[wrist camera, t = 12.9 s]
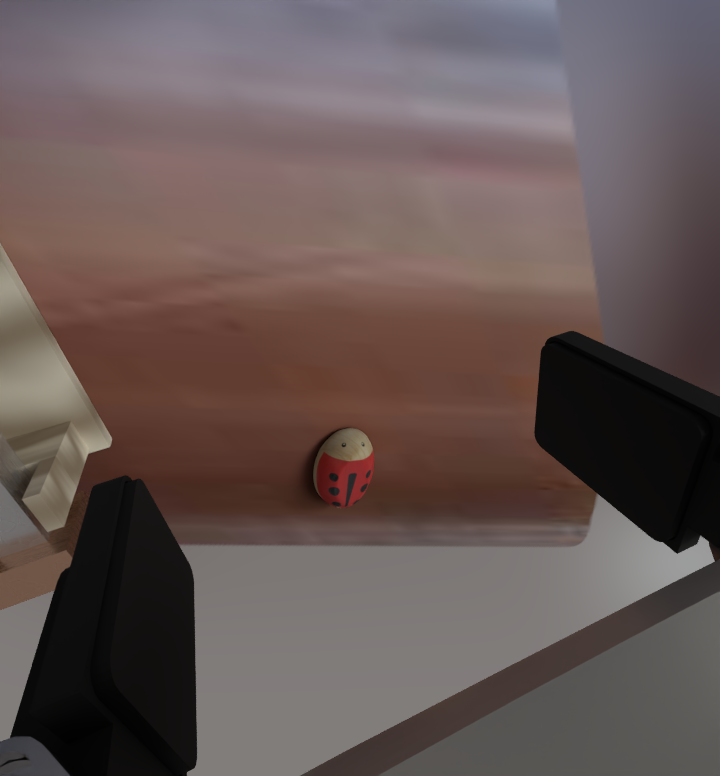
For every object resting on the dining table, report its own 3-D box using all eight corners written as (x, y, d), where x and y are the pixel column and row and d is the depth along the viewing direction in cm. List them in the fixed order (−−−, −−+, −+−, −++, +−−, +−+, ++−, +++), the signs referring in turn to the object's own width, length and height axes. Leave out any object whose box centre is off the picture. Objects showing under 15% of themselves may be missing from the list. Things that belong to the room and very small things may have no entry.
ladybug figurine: (374, 422, 46) (387, 440, 43) (364, 493, 50) (375, 514, 47) (313, 427, 44) (323, 447, 41) (309, 502, 48) (317, 525, 45)
